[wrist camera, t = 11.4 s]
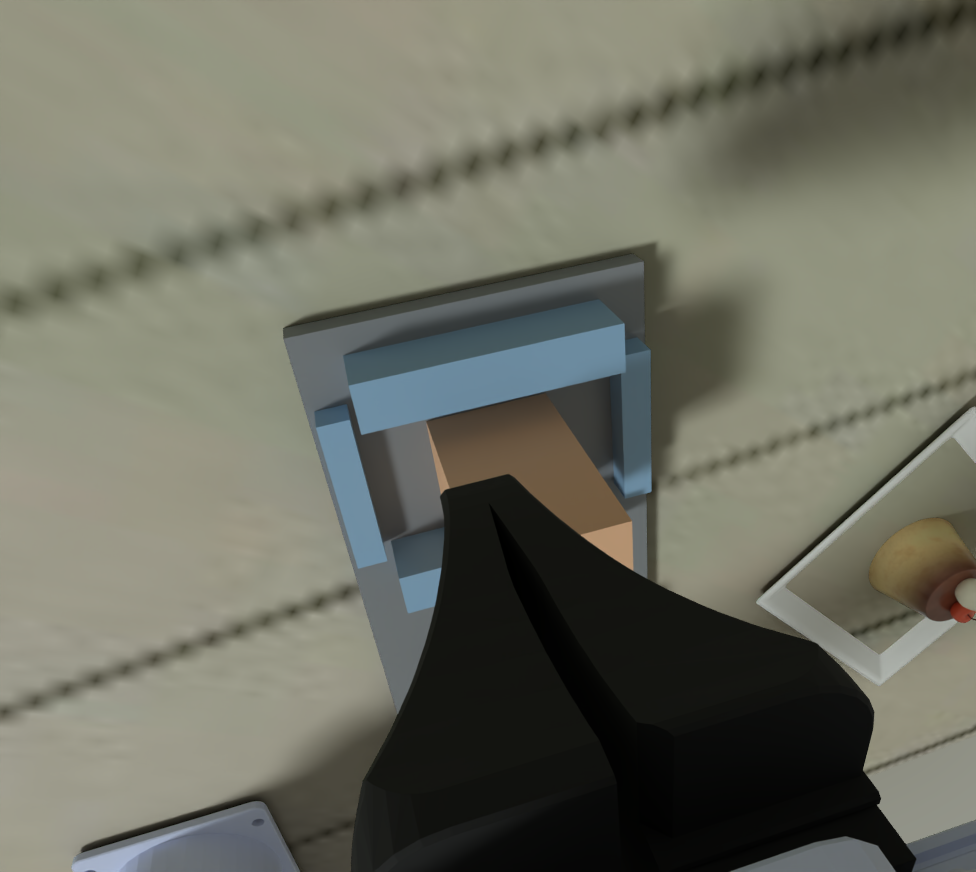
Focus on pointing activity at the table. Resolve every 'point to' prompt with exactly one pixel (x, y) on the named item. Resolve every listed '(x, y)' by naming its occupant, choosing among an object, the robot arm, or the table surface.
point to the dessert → (896, 579)
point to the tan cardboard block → (533, 466)
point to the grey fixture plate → (461, 388)
